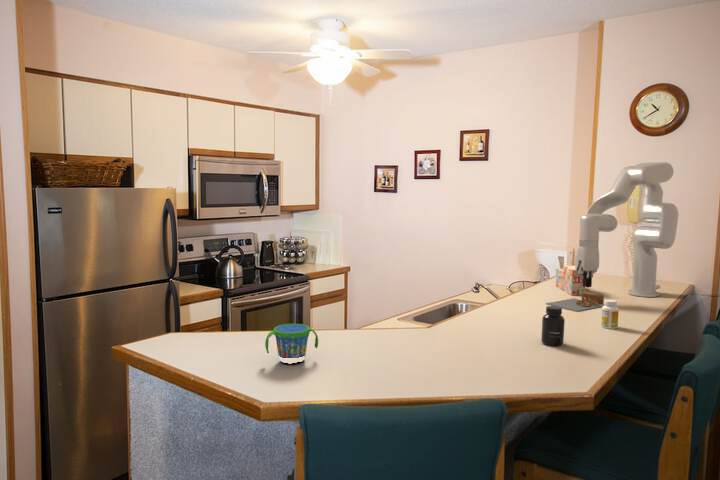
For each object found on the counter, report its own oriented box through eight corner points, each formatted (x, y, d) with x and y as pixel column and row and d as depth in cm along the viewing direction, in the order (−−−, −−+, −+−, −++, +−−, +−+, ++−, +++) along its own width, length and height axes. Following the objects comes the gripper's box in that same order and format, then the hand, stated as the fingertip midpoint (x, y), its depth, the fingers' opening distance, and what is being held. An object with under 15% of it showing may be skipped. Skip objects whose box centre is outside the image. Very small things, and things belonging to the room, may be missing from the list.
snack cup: (315, 353, 166) (315, 321, 165) (321, 365, 156) (320, 330, 154) (264, 357, 162) (263, 325, 161) (266, 369, 152) (265, 334, 151)
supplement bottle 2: (617, 326, 194) (618, 299, 193) (617, 329, 189) (619, 302, 188) (601, 324, 196) (602, 298, 195) (601, 328, 191) (602, 301, 190)
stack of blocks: (555, 286, 266) (556, 262, 265) (568, 286, 266) (569, 262, 265) (571, 296, 245) (572, 269, 244) (585, 296, 245) (586, 269, 244)
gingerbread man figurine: (604, 295, 227) (594, 303, 219) (603, 304, 228) (594, 312, 219) (582, 291, 233) (572, 299, 224) (582, 299, 234) (572, 308, 225)
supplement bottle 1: (553, 348, 169) (554, 310, 168) (536, 342, 176) (537, 306, 174) (568, 344, 173) (569, 308, 171) (551, 339, 179) (553, 304, 177)
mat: (573, 299, 238) (574, 298, 238) (605, 306, 224) (606, 305, 224) (545, 304, 229) (545, 303, 229) (577, 311, 215) (577, 310, 215)
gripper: (592, 242, 234) (590, 283, 236) (569, 244, 227) (567, 287, 229) (608, 243, 228) (606, 286, 230) (584, 246, 220) (582, 290, 222)
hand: (587, 286), depth 229 cm, fingers closed
